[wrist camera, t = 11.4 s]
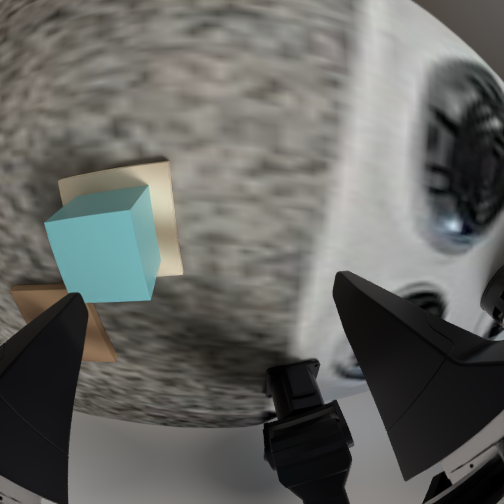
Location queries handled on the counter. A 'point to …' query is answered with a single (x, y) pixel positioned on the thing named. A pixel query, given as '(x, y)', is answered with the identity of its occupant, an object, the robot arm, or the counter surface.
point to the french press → (495, 297)
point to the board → (159, 193)
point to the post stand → (45, 295)
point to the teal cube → (107, 245)
